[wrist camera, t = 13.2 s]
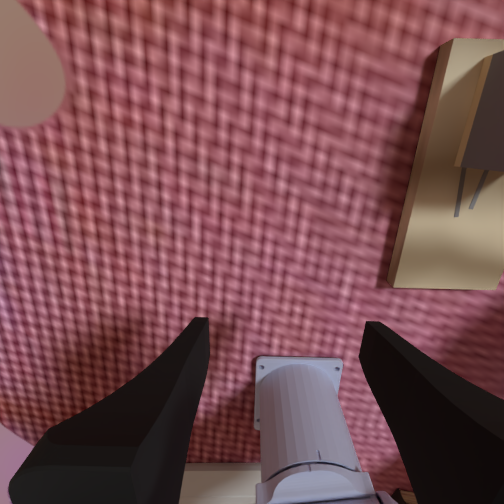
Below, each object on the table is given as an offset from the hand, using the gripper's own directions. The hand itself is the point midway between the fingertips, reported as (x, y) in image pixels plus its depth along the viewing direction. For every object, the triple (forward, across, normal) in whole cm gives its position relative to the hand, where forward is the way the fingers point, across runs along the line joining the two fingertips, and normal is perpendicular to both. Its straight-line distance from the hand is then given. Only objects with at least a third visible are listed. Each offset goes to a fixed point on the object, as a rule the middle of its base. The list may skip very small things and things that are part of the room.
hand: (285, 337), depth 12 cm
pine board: (+10, -14, -6) cm, 18 cm away
